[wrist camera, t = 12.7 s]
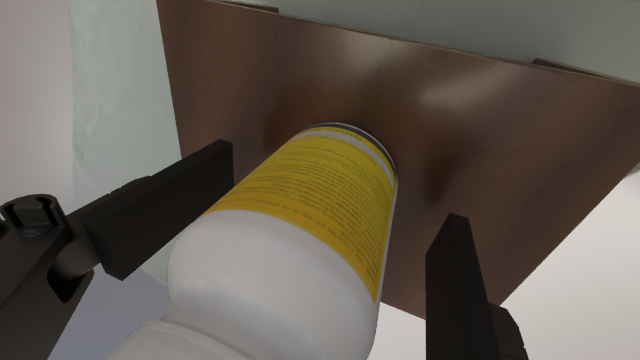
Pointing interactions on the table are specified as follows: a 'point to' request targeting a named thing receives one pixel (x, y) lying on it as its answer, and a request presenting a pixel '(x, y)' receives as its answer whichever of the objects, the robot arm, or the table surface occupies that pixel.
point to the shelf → (411, 128)
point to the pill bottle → (283, 259)
